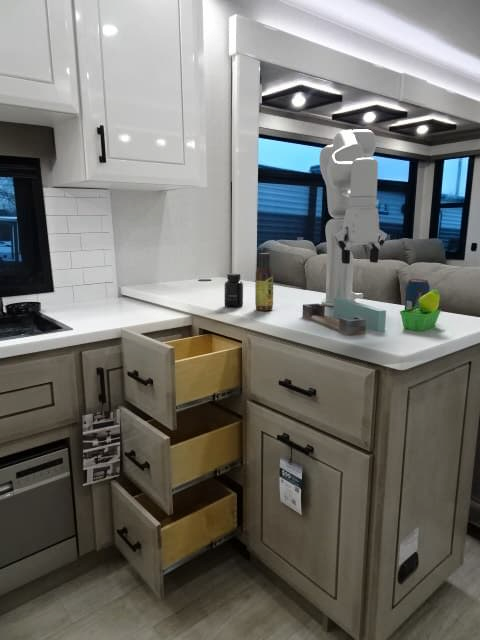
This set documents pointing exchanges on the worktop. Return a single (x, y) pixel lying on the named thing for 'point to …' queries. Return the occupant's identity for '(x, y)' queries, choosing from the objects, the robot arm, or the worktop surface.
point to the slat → (360, 313)
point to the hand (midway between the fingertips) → (359, 262)
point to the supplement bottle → (233, 291)
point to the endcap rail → (343, 325)
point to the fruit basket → (422, 313)
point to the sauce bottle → (264, 284)
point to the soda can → (415, 292)
